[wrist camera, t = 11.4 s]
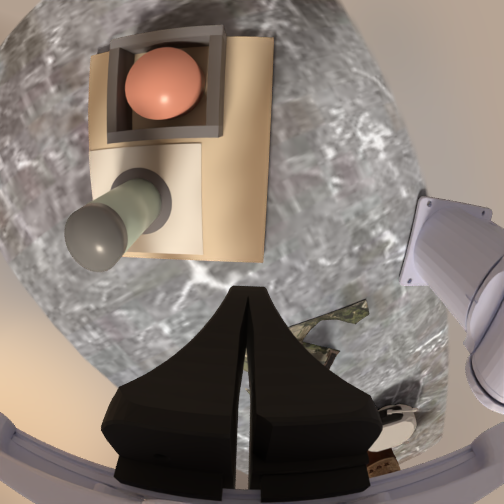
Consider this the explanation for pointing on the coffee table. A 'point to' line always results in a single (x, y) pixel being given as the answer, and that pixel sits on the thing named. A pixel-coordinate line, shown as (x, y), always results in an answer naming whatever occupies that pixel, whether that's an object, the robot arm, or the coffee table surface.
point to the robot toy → (395, 426)
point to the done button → (164, 84)
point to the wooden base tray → (190, 145)
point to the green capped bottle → (111, 224)
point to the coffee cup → (381, 463)
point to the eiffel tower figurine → (301, 330)
